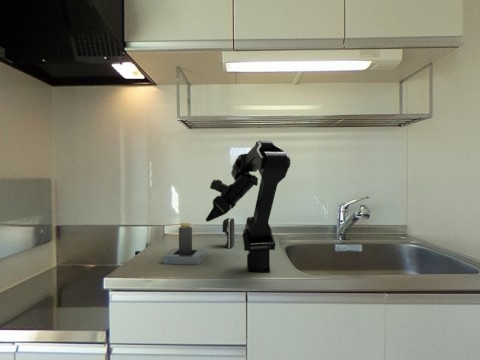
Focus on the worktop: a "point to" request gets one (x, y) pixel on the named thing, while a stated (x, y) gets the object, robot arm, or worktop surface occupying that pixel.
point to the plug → (185, 239)
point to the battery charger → (229, 232)
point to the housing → (184, 257)
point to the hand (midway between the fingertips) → (209, 219)
